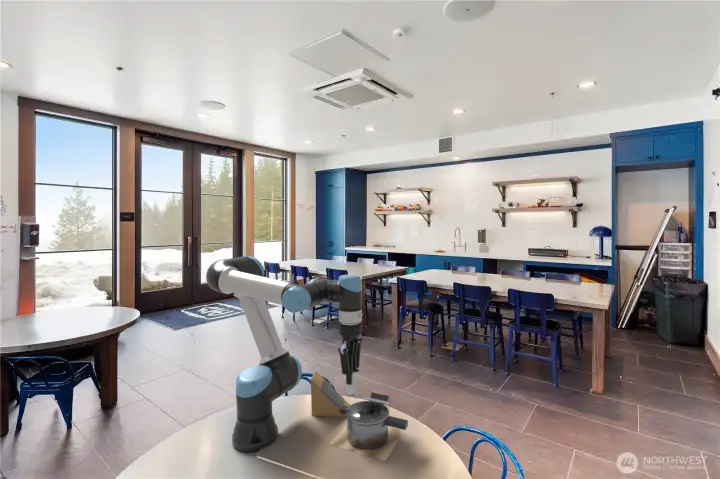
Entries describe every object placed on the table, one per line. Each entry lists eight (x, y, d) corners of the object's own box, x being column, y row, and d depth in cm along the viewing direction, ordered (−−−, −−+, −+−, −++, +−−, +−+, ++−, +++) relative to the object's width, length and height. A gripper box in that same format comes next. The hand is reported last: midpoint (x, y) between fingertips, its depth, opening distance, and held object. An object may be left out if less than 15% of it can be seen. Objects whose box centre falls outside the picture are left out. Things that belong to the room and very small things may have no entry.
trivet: (328, 446, 122) (328, 444, 122) (353, 419, 138) (353, 417, 138) (385, 463, 113) (385, 461, 113) (404, 432, 129) (404, 430, 129)
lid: (340, 394, 123) (342, 385, 124) (358, 397, 135) (359, 390, 136) (380, 403, 117) (382, 394, 118) (395, 405, 129) (396, 397, 130)
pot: (331, 441, 123) (330, 415, 123) (352, 418, 137) (351, 395, 137) (399, 461, 113) (398, 433, 112) (414, 434, 127) (414, 408, 127)
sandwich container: (351, 418, 139) (351, 380, 138) (311, 417, 140) (310, 379, 139) (353, 407, 147) (353, 370, 146) (315, 406, 148) (315, 369, 147)
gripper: (351, 328, 114) (352, 403, 115) (369, 318, 126) (369, 386, 127) (330, 326, 117) (331, 398, 118) (349, 316, 129) (350, 382, 130)
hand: (351, 392), depth 123 cm, fingers closed
